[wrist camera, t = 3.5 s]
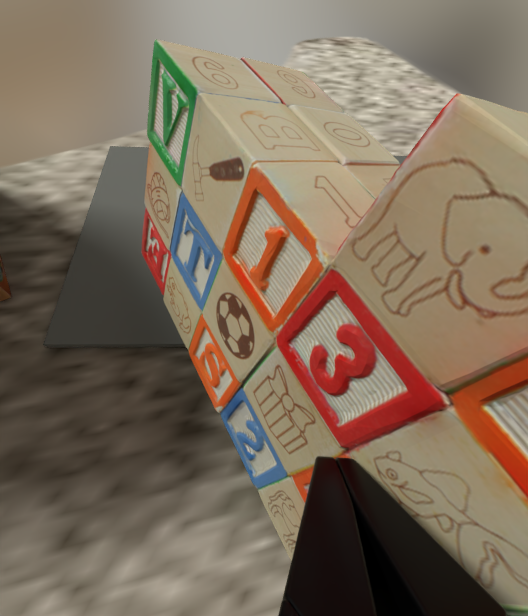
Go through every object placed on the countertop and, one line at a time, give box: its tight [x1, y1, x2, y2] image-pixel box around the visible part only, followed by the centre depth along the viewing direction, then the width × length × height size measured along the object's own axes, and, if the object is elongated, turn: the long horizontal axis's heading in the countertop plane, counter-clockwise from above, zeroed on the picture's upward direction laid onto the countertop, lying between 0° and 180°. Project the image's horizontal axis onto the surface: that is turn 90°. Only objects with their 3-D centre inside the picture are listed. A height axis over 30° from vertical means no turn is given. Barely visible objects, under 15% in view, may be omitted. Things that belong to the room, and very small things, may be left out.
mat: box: [43, 146, 407, 348], centre depth 21 cm, size 16×24×1 cm, turn 92°
